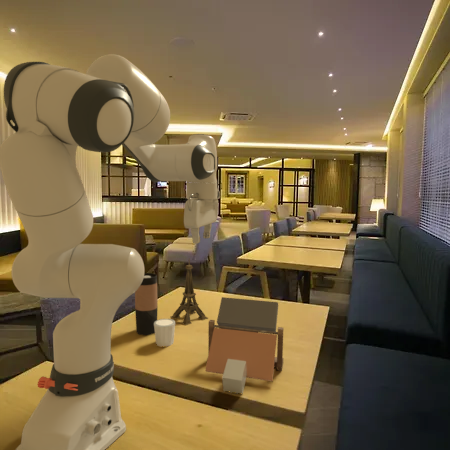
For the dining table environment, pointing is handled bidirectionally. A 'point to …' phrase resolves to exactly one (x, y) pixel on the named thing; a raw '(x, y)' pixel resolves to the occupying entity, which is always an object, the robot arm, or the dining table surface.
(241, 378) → the grey block
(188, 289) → the eiffel tower
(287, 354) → the dining table surface
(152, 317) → the travel mug
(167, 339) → the shot glass
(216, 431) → the dining table surface
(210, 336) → the frame
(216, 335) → the trapdoor
